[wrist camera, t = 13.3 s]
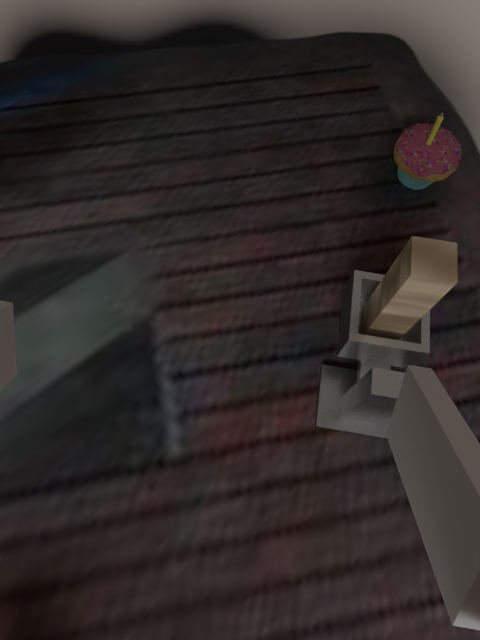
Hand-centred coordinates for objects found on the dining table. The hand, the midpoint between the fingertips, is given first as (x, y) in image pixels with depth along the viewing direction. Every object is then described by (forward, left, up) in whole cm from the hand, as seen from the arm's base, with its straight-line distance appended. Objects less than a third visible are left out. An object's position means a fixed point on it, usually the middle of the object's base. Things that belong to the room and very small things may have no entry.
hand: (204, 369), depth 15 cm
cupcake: (-27, +38, -35) cm, 59 cm away
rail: (-7, +20, -29) cm, 36 cm away
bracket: (-4, +19, -35) cm, 40 cm away
